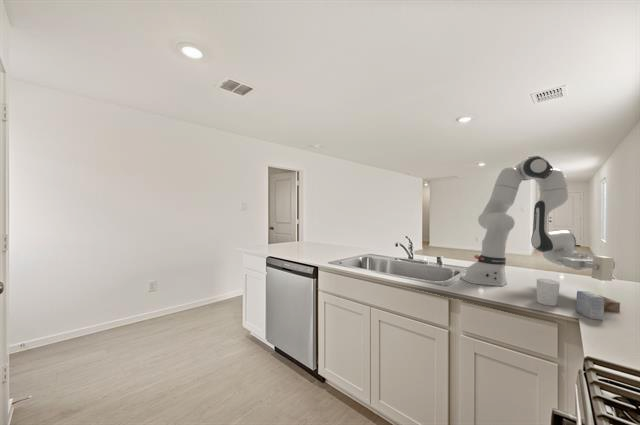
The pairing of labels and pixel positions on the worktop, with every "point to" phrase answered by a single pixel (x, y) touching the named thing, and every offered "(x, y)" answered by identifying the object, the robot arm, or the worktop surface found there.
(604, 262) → the cream pillar
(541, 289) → the white cup
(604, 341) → the worktop surface
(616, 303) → the walnut block
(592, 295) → the medicine box
